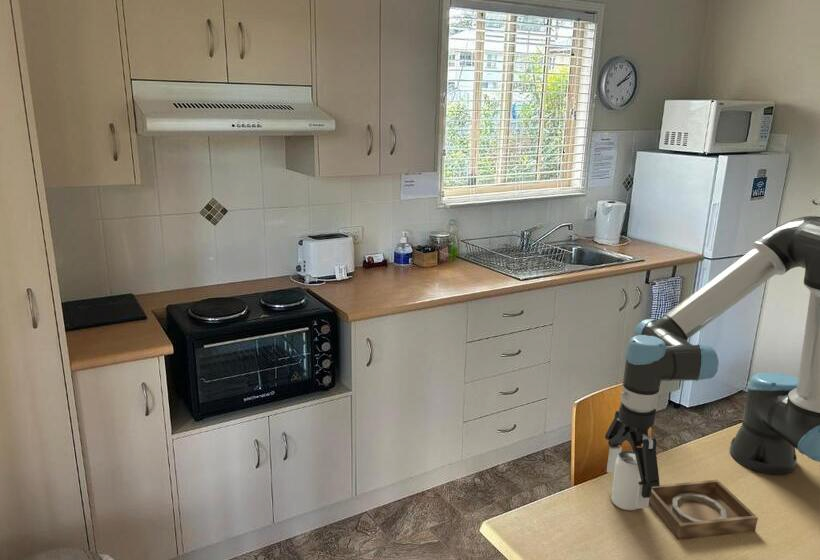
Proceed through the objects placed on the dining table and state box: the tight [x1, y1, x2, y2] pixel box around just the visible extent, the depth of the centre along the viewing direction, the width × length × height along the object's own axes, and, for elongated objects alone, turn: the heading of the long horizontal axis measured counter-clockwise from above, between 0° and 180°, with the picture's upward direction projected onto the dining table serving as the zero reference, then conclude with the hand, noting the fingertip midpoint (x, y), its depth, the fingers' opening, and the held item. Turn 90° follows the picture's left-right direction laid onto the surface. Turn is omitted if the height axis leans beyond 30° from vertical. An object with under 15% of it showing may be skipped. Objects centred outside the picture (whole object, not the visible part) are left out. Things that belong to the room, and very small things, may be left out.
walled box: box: [648, 479, 759, 541], centre depth 142 cm, size 18×14×4 cm
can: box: [610, 449, 641, 512], centre depth 145 cm, size 6×6×12 cm
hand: (626, 488), depth 146 cm, fingers open, 13 cm apart
